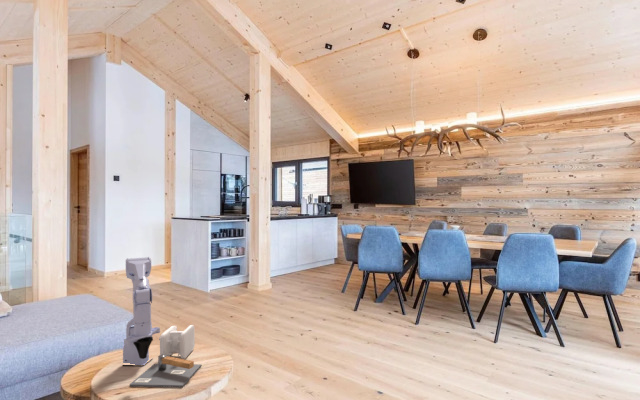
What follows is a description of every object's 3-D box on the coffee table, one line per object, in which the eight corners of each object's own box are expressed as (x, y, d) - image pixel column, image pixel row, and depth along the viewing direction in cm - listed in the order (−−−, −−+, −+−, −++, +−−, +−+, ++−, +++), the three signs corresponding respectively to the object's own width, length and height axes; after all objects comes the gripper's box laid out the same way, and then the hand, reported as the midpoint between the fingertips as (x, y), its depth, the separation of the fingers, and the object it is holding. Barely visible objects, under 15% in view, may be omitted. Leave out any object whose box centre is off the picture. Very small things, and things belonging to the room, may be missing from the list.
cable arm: (156, 369, 151) (156, 356, 151) (162, 366, 153) (162, 354, 153) (188, 377, 144) (188, 363, 144) (194, 373, 147) (194, 360, 147)
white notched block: (183, 362, 160) (183, 334, 160) (158, 362, 160) (158, 335, 160) (195, 348, 175) (194, 323, 175) (172, 349, 175) (172, 324, 175)
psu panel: (129, 386, 139) (129, 383, 139) (154, 365, 157) (154, 363, 157) (182, 387, 138) (182, 384, 138) (201, 366, 156) (201, 363, 156)
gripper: (133, 328, 134) (134, 367, 134) (165, 317, 147) (166, 352, 147) (119, 326, 137) (120, 364, 136) (152, 315, 150) (152, 349, 150)
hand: (142, 357), depth 142 cm, fingers closed
